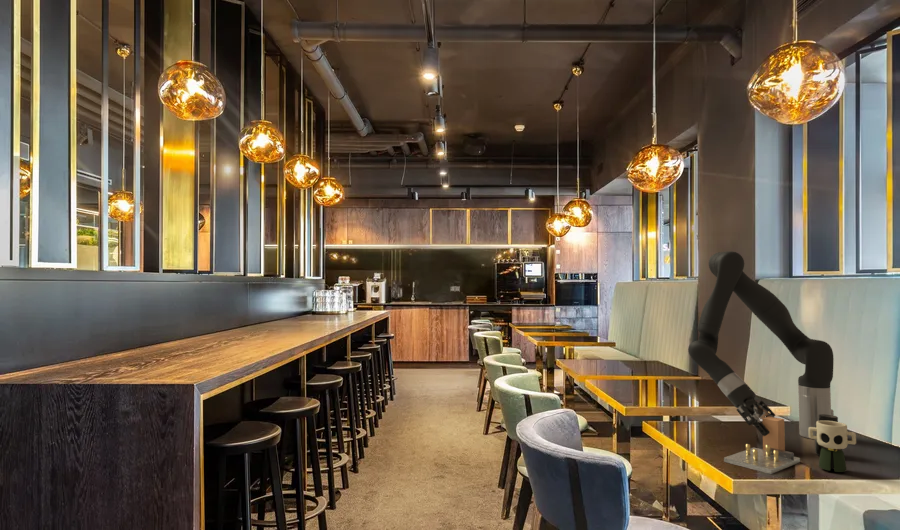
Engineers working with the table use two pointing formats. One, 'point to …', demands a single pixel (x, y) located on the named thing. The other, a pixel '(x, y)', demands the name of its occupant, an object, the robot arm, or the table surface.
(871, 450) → the table surface
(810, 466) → the table surface
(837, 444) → the character mug
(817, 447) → the supplement bottle
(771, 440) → the block
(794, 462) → the plate
